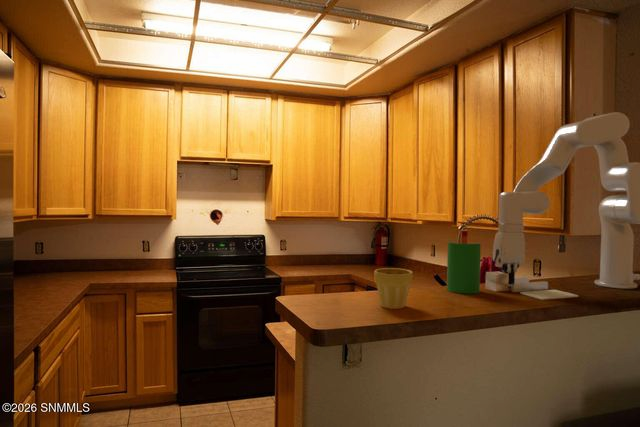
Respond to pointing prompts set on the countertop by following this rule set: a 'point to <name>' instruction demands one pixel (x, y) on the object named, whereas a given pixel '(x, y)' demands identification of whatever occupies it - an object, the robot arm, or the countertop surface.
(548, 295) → the pad
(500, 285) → the plug block
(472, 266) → the green cylinder
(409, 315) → the countertop surface
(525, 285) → the housing channel
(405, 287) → the plant pot
